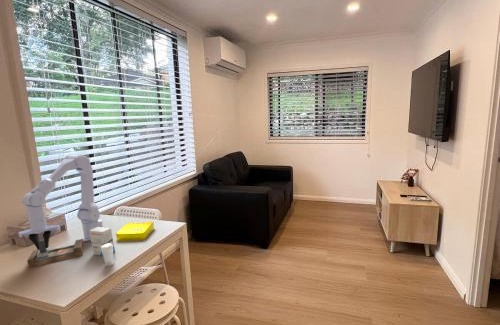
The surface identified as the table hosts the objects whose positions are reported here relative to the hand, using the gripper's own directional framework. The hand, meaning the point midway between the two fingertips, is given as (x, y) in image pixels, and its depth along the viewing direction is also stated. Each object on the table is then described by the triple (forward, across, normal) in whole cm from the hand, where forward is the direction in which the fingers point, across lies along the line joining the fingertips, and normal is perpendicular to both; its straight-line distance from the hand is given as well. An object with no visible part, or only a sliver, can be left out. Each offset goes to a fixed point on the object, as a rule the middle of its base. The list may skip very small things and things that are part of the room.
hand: (43, 248), depth 127 cm
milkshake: (+6, +26, -21) cm, 34 cm away
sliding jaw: (+4, 0, 0) cm, 4 cm away
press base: (+5, +5, 0) cm, 7 cm away
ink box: (+6, +24, -8) cm, 26 cm away
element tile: (+6, +39, +6) cm, 40 cm away
